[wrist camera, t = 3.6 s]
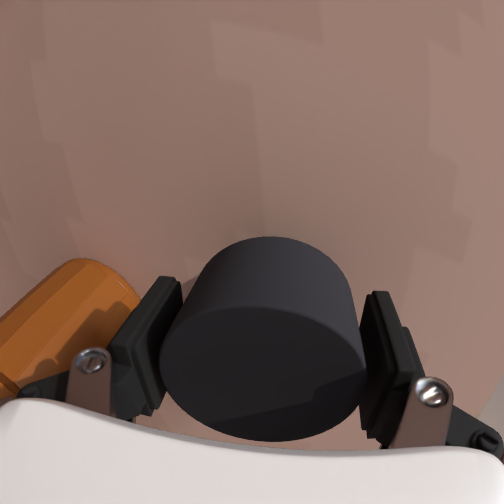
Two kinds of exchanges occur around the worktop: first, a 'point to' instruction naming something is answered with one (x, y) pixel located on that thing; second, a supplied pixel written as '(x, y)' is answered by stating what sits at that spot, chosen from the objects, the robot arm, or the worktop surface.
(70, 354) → the amber bottle
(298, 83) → the worktop surface
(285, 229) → the worktop surface
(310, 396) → the stopper
